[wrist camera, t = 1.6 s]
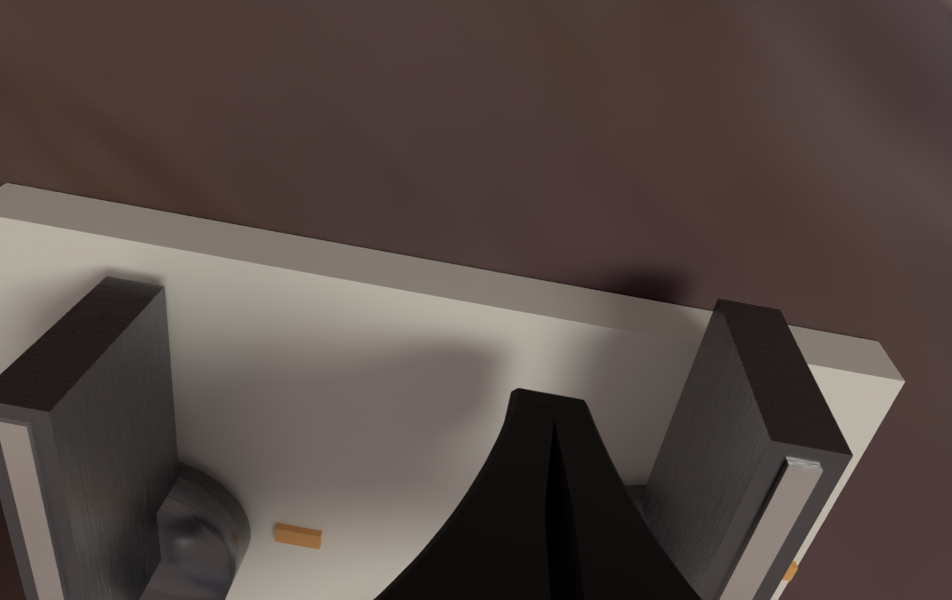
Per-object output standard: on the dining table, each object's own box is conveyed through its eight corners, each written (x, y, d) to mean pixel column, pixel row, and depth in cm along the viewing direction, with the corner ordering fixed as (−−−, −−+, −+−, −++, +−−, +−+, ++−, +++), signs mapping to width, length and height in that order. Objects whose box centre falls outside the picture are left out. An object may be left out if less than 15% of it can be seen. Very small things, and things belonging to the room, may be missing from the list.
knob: (700, 620, 19) (736, 809, 15) (535, 591, 19) (530, 771, 15) (855, 313, 14) (966, 480, 10) (633, 273, 14) (662, 424, 10)
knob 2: (250, 587, 20) (180, 757, 16) (94, 559, 20) (-13, 721, 16) (249, 290, 15) (146, 434, 11) (41, 252, 15) (-132, 383, 11)
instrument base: (689, 691, 24) (701, 764, 22) (83, 581, 24) (41, 644, 22) (878, 341, 17) (920, 404, 15) (7, 183, 17) (-66, 225, 15)
